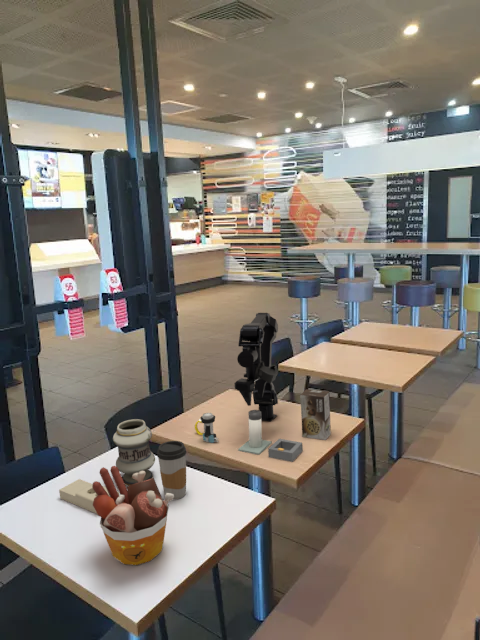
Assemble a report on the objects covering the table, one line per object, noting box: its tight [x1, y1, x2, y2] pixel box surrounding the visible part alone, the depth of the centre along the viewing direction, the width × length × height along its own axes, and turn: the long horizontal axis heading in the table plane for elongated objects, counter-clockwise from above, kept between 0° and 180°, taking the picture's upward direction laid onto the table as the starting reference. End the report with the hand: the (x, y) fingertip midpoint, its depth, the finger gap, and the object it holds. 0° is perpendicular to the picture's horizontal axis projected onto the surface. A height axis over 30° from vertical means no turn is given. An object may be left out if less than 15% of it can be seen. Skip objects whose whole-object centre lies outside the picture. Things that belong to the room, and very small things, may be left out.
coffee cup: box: [156, 440, 187, 501], centre depth 145 cm, size 8×8×15 cm
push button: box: [199, 412, 219, 443], centre depth 180 cm, size 7×5×10 cm
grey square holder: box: [267, 438, 304, 463], centre depth 168 cm, size 9×9×3 cm
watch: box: [194, 418, 204, 436], centre depth 187 cm, size 6×3×6 cm, turn 67°
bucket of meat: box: [92, 465, 174, 566], centre depth 120 cm, size 20×16×20 cm
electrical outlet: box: [58, 478, 120, 515], centre depth 145 cm, size 7×4×18 cm
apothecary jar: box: [112, 418, 156, 487], centre depth 156 cm, size 12×12×18 cm
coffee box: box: [299, 388, 332, 441], centre depth 180 cm, size 9×6×16 cm
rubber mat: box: [237, 439, 273, 456], centre depth 175 cm, size 10×8×1 cm
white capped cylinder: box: [248, 409, 263, 448], centre depth 173 cm, size 4×4×12 cm
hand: (255, 401), depth 182 cm, fingers open, 9 cm apart
